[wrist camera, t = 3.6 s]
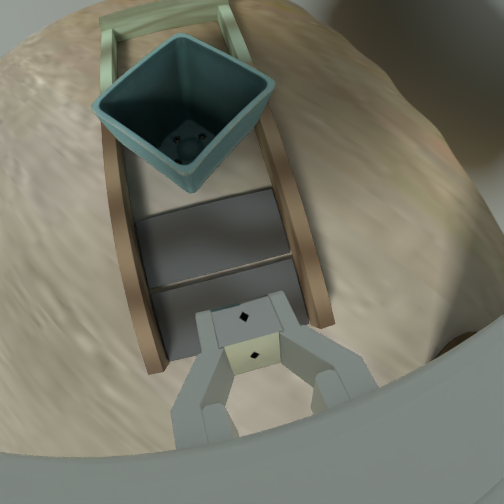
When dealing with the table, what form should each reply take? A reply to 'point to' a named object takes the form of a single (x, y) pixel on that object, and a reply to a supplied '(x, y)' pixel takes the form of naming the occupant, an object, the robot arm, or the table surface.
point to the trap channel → (205, 217)
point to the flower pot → (184, 107)
